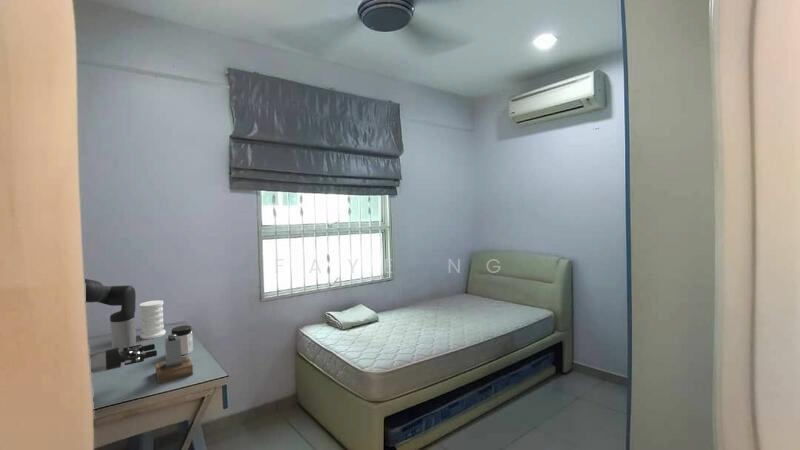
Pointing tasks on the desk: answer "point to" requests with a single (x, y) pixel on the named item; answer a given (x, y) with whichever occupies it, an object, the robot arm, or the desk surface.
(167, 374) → the stand
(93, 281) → the robot arm
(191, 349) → the jar
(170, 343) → the block
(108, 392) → the desk surface
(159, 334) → the decorative container
